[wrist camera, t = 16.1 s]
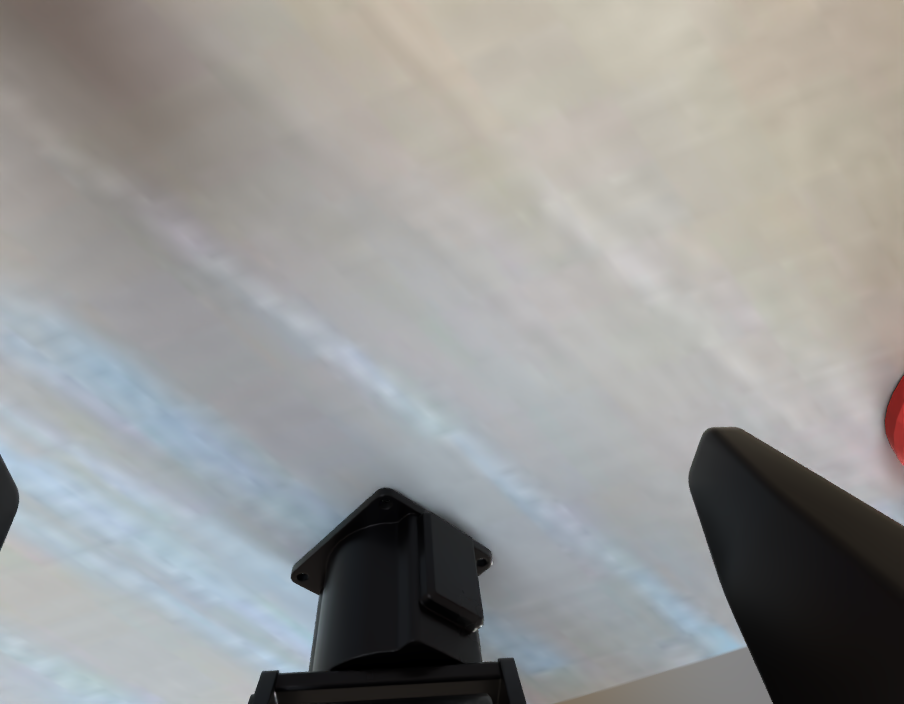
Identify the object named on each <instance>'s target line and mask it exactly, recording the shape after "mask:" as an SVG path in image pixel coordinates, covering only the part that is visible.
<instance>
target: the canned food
mask: <svg viewBox="0 0 904 704" xmlns="http://www.w3.org/2000/svg"><path fill="white" fill-rule="evenodd" d="M885 429H886V435H887V438H888V441H889V443H890V445H891V447H892V449H893V451H894V452H895V454H896V456H897V458H898V459H899V461H900V462H901V463H902V464H903V465H904V376H903V377H902V379H901V380H900V382H899V384H898V385H897V387H896V389H895V390H894V392H893V395H892V397H891V400H890V402H889V405H888V407H887V413H886V418H885Z"/></svg>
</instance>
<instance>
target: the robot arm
mask: <svg viewBox="0 0 904 704" xmlns="http://www.w3.org/2000/svg"><path fill="white" fill-rule="evenodd" d="M689 488H690V492H691V495H692V498H693V501H694V504H695V507H696V510H697V513H698V516H699V519H700V522H701V525H702V528H703V531H704V534H705V538H706V541H707V544H708V547H709V550H710V553H711V556H712V559H713V562H714V565H715V568H716V571H717V574H718V577H719V580H720V583H721V585H722V588H723V591H724V594H725V596H726V599H727V601H728V603H729V606H730V608H731V610H732V613H733V615H734V617H735V619H736V622H737V624H738V626H739V628H740V631H741V633H742V635H743V637H744V640H745V642H746V644H747V646H748V648H749V651H750V653H751V655H752V657H753V660H754V662H755V664H756V666H757V669H758V671H759V673H760V675H761V677H762V680H763V682H764V684H765V686H766V689H767V691H768V693H769V695H770V698H771V700H772V702H773V704H904V526H903V525H901V524H899V523H898V522H896V521H894V520H893V519H891V518H889V517H888V516H886V515H884V514H883V513H881V512H879V511H878V510H876V509H874V508H873V507H871V506H869V505H868V504H866V503H864V502H863V501H861V500H859V499H858V498H856V497H854V496H853V495H851V494H849V493H848V492H846V491H844V490H843V489H841V488H839V487H838V486H836V485H834V484H833V483H831V482H829V481H828V480H826V479H824V478H823V477H821V476H819V475H818V474H816V473H814V472H813V471H811V470H809V469H808V468H806V467H804V466H803V465H801V464H799V463H798V462H796V461H794V460H793V459H791V458H789V457H788V456H786V455H784V454H783V453H781V452H779V451H778V450H776V449H774V448H773V447H771V446H769V445H768V444H766V443H764V442H763V441H761V440H759V439H758V438H756V437H754V436H753V435H751V434H749V433H748V432H746V431H744V430H742V429H741V428H737V427H712V428H709V429H707V430H706V431H705V432H704V433H703V435H702V437H701V440H700V442H699V445H698V448H697V451H696V454H695V457H694V459H693V462H692V465H691V468H690V471H689ZM382 500H390V501H388V502H383V501H382ZM18 504H19V493H18V489H17V486H16V484H15V482H14V480H13V478H12V477H11V475H10V473H9V471H8V469H7V467H6V465H5V463H4V461H3V459H2V457H1V455H0V550H1V548H2V546H3V543H4V541H5V538H6V536H7V534H8V531H9V529H10V526H11V524H12V522H13V519H14V517H15V514H16V512H17V509H18ZM492 563H493V560H492V554H491V551H490V550H489V549H487V548H486V547H484V546H482V545H481V544H479V543H478V542H476V541H474V540H473V539H472V538H471V537H470V536H468V535H466V534H465V533H463V532H462V531H460V530H458V529H457V528H455V527H454V526H452V525H450V524H449V523H447V522H446V521H444V520H442V519H441V518H439V517H438V516H436V515H435V514H433V513H430V512H428V511H426V510H425V509H423V508H422V507H420V506H418V505H417V504H415V503H414V502H412V501H410V500H409V499H407V498H406V497H404V496H402V495H401V494H399V493H398V492H396V491H394V490H392V489H390V488H382V489H379V490H378V491H376V492H375V493H374V494H373V495H372V496H370V497H369V498H368V499H367V500H366V501H365V502H364V503H363V504H362V505H360V506H359V507H358V508H357V509H356V510H355V511H354V512H353V513H352V514H350V515H349V516H348V517H347V518H346V519H345V520H344V521H343V522H342V523H340V524H339V525H338V526H337V527H336V528H335V529H334V530H333V531H332V532H330V533H329V534H328V535H327V536H326V537H325V538H324V539H323V540H322V541H320V542H319V543H318V544H317V545H316V546H315V547H314V548H313V549H312V550H310V551H309V552H308V553H307V554H306V555H305V556H304V557H303V558H302V559H300V560H299V561H298V562H297V563H296V564H295V565H294V566H293V568H292V573H291V579H292V581H293V582H294V583H296V584H298V585H300V586H302V587H304V588H306V589H308V590H310V591H312V592H314V593H316V594H318V595H319V601H318V608H317V615H316V622H315V629H314V637H313V644H312V651H311V658H310V665H309V672H293V673H279V670H276V671H262V673H261V676H260V679H259V682H258V685H257V688H256V691H255V694H253V695H251V696H250V699H249V702H248V704H526V701H525V697H524V693H523V690H522V686H521V683H520V679H519V676H518V672H517V668H516V665H515V661H514V658H500V659H498V661H496V662H482V656H481V649H480V641H479V633H478V629H479V628H480V627H482V626H483V622H484V617H483V610H482V602H481V595H480V588H479V581H478V576H479V575H480V574H482V573H483V572H484V571H485V570H487V569H488V568H489V567H490V566H491V565H492ZM302 573H304V574H302Z"/></svg>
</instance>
